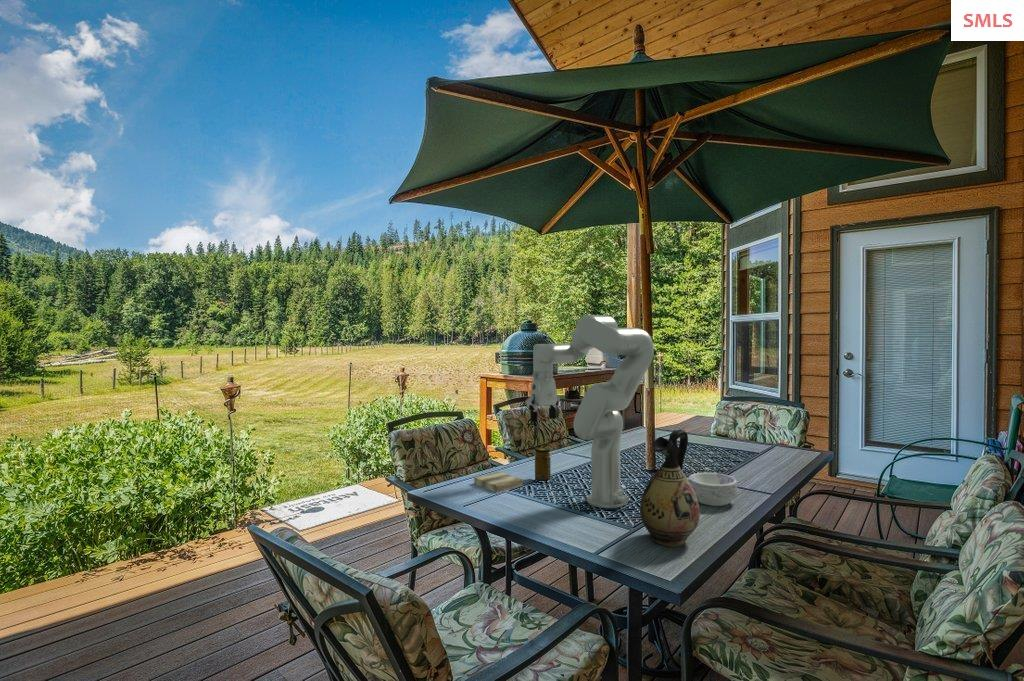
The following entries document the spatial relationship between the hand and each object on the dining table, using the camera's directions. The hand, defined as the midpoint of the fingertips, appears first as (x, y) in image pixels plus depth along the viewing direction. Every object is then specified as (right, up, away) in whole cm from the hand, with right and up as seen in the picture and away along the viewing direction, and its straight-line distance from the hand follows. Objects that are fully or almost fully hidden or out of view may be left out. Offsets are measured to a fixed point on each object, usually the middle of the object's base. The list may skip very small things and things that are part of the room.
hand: (543, 420), depth 192 cm
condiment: (0, -23, 0) cm, 23 cm away
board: (-17, -23, -5) cm, 30 cm away
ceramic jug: (+31, -24, -56) cm, 68 cm away
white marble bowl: (+55, -23, -26) cm, 65 cm away
